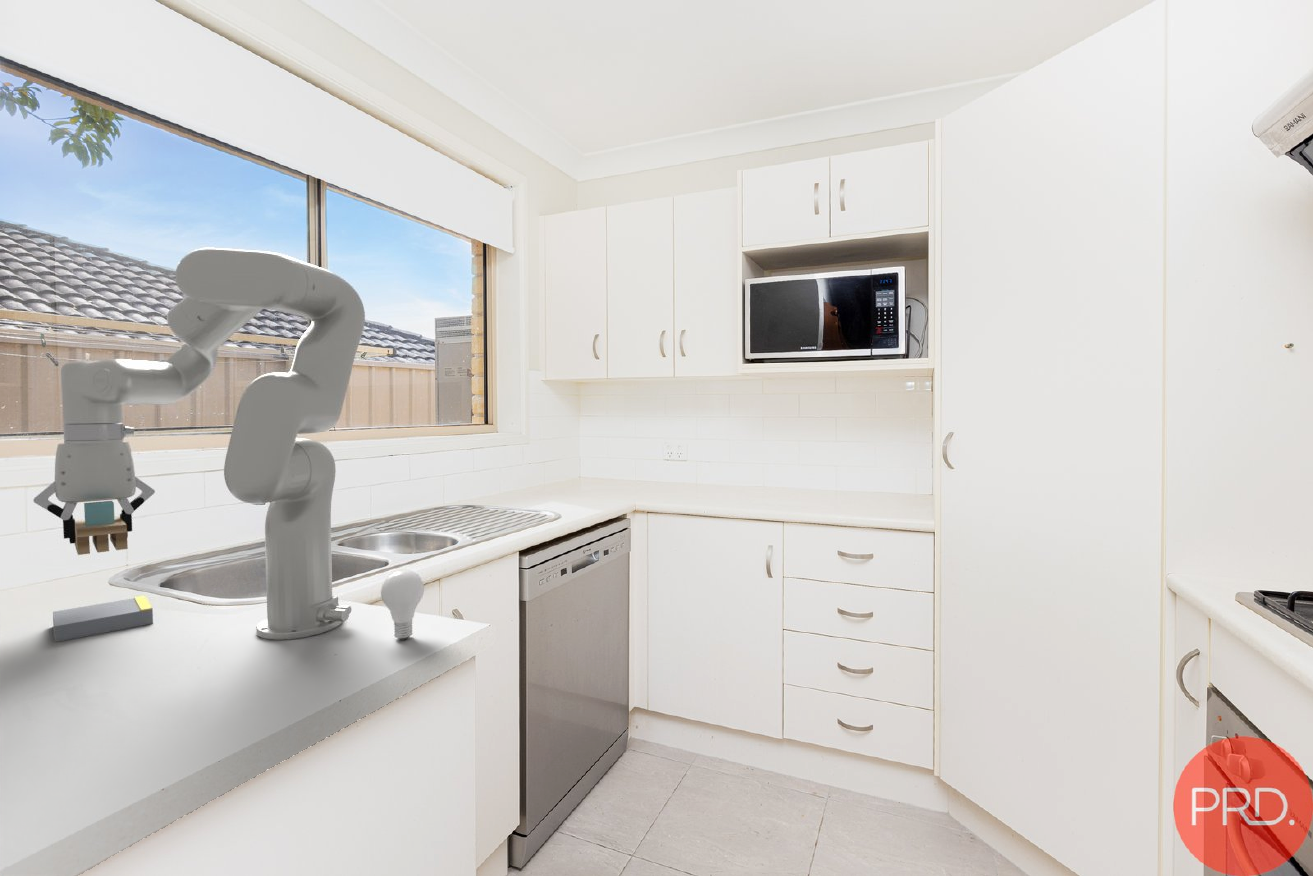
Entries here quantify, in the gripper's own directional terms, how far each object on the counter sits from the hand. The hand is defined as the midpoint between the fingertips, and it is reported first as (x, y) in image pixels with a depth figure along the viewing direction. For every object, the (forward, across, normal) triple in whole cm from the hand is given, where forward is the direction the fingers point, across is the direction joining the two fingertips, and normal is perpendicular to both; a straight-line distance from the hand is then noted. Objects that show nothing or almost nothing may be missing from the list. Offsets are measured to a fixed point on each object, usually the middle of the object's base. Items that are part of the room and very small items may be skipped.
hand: (99, 538), depth 106 cm
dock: (+14, 0, +3) cm, 15 cm away
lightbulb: (+15, -33, +45) cm, 58 cm away
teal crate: (-3, 0, +4) cm, 5 cm away
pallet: (+1, 0, +3) cm, 3 cm away
